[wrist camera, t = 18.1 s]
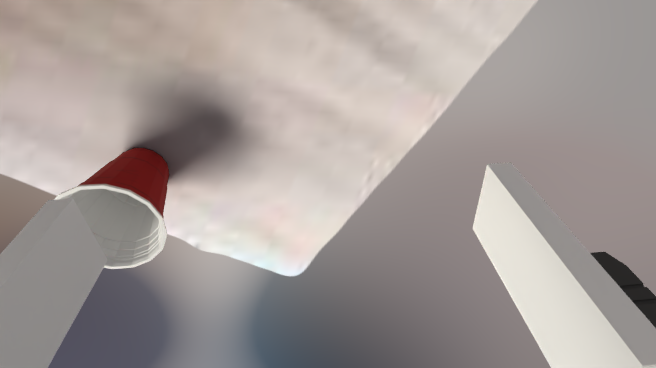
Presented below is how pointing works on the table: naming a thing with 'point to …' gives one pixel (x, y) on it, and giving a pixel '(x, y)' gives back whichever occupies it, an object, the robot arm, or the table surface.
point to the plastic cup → (126, 207)
